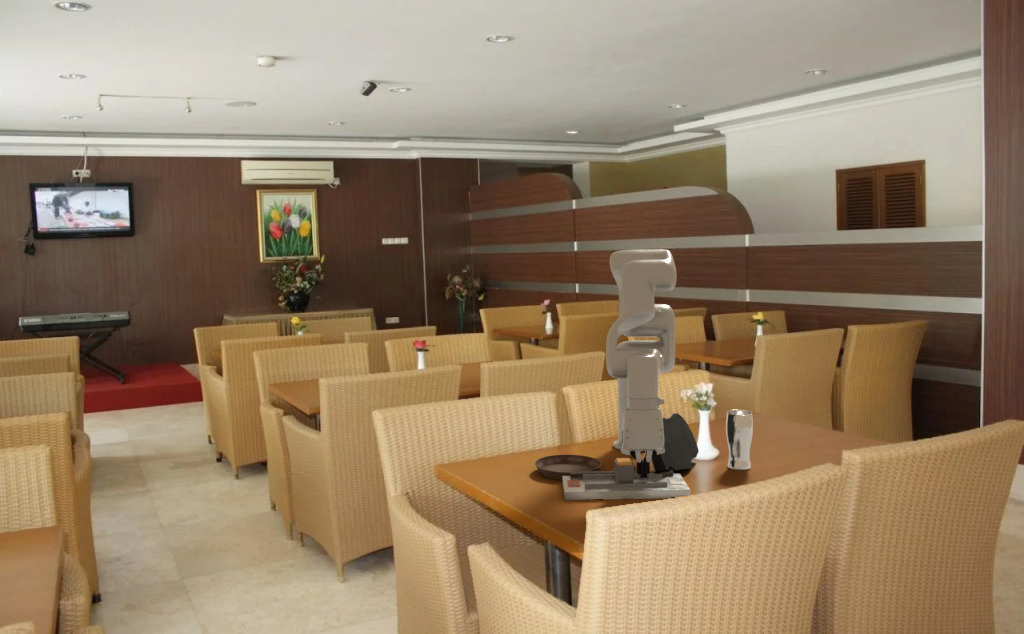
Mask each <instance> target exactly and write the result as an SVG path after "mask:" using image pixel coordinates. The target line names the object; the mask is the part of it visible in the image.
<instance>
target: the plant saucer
mask: <svg viewBox="0 0 1024 634" xmlns="http://www.w3.org/2000/svg"><path fill="white" fill-rule="evenodd" d="M534 464H535V465H534V466H535V467H536V468H537V470H538V471H539V472H540V473H541V474H542V475H543V476H544V477H546V478H548V479H552V478H553V480H558V479H561V480H560V481H562V476H570V472H579V471H599V469H600V468H601V466H602V461H600V460H599V459H597V458H594V457H592V456H587V455H581V454H580V455H578V454H554V455H553V454H552V455H547V456H543V457H540V458H538V459H536V460H535V461H534Z"/></svg>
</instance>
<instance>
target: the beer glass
mask: <svg viewBox="0 0 1024 634" xmlns="http://www.w3.org/2000/svg"><path fill="white" fill-rule="evenodd" d="M753 426H754V423H753V412H752V411H750V410H747V409H731V410H728V411H726V420H725V434H726V440H727V448H728V461H727V468H729V470H734V471H747V470H750V469H751V467H752V466H751V465H752V464H751V459H750V458H751V457H750V450H751V444H752V440H753V432H754V431H753V430H754V427H753Z"/></svg>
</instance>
